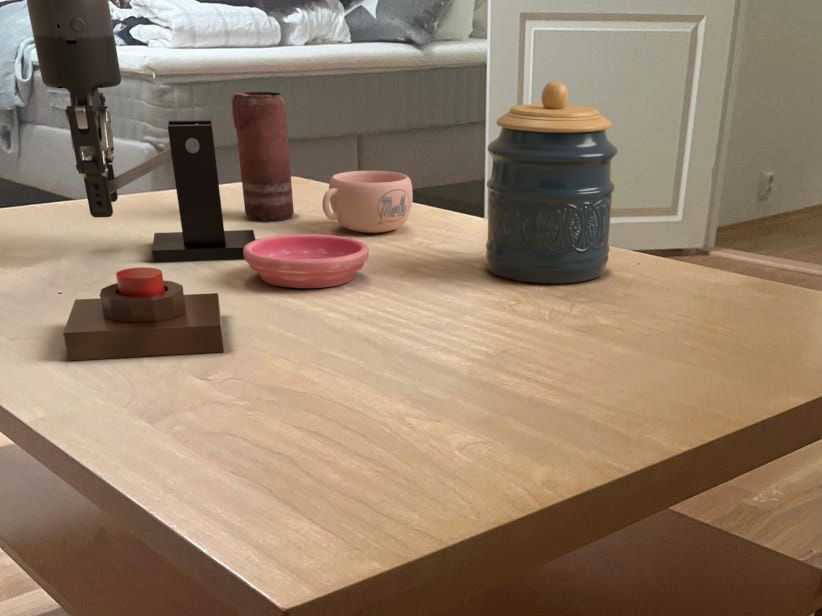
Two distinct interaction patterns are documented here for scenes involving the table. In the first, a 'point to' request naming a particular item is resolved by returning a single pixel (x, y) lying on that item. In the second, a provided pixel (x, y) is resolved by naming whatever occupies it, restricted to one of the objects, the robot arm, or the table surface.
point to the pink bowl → (306, 259)
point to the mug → (369, 200)
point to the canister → (550, 192)
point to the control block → (144, 324)
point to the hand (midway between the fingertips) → (105, 208)
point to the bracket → (197, 201)
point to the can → (263, 155)
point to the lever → (140, 170)
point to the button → (140, 282)
